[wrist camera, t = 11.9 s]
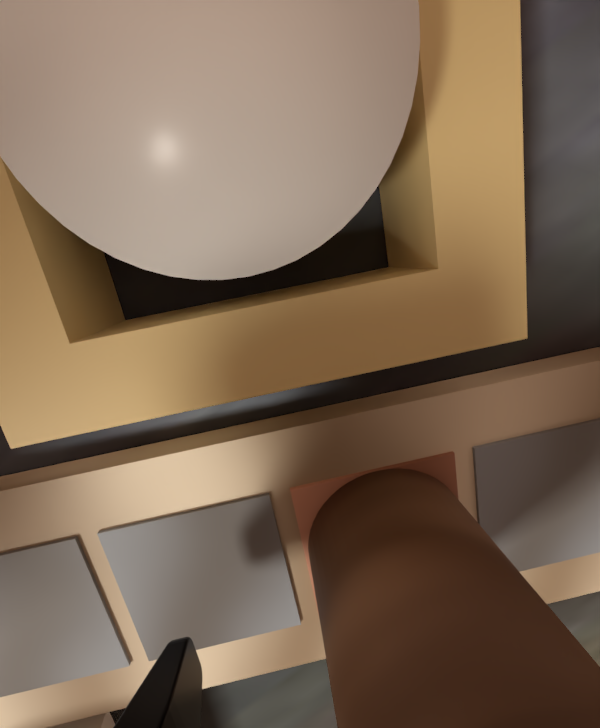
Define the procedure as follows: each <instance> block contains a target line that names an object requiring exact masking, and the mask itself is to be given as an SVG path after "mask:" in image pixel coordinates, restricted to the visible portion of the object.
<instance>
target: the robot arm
mask: <svg viewBox="0 0 600 728" xmlns="http://www.w3.org/2000/svg"><path fill="white" fill-rule="evenodd" d="M201 701H202V667H201V663H200V660H199V658H198V655H197V652H196V649H195V646H194V644H193V641H192V639H191V638H190V637H183V638H179V639H175V640H172V641H170V642H169V643H168V644H167V645H166V647H165V648H164V650H163V651H162V653H161V654H160V656H159V658H158V659H157V661H156V662H155V664H154V665H153V667H152V668H151V670H150V671H149V673H148V675H147V676H146V678H145V679H144V681H143V682H142V684H141V685H140V687H139V688H138V690H137V692H136V693H135V695H134V696H133V698H132V699H131V701H130V702H129V704H128V705H127V707H126V709H125V710H124V712H123V713H122V715H121V716H120V718H119V719H118V721H117V723H116V724H115V726H114V727H113V728H200V724H201Z"/></svg>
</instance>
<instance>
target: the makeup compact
mask: <svg viewBox="0 0 600 728" xmlns="http://www.w3.org/2000/svg"><path fill="white" fill-rule="evenodd" d="M399 468H401V469H411V470H415V471H420V472H423V473H425V474H428V475H430V476H432V477H434V478H436V479H438V480H439V481H440V482H442V483H443V484H444V485H446V486H447V487H448V488H449V490H450V491H451V492H452V493H453V494H454V495H455V496H456V497H457V499H458V500H459V501H460V502H461V503H462V505H463V506H464V507H465V508H466V509H467V510H468V512H469V513H470V514H471V515H472V516H473V518H474V519H475V520H476V521H477V522H478V524H479V525H480V526H481V527H482V528H483V529H484V531H485V532H486V533H487V534H488V535H489V537H490V538H491V539H492V540H493V541H494V542H495V544H496V545H497V546H498V547H499V548H500V550H501V551H502V552H503V553H504V554H505V555H506V557H507V558H508V559H509V560H510V561H511V563H512V564H513V565H514V566H515V567H516V569H517V570H518V571H519V572H520V573H521V574H522V576H523V577H524V578H525V579H526V580H527V582H528V583H529V584H530V585H531V586H532V587H533V589H534V590H535V591H536V592H537V593H538V595H539V596H540V597H541V598H542V599H543V600H544V602H545V603H546V604H549V603H553V602H557V601H561V600H565V599H569V598H573V597H577V596H581V595H585V594H589V593H593V592H598V591H600V347H596V348H591V349H587V350H582V351H578V352H573V353H568V354H564V355H559V356H555V357H550V358H545V359H541V360H536V361H531V362H527V363H522V364H518V365H513V366H508V367H504V368H499V369H494V370H490V371H485V372H481V373H476V374H471V375H467V376H462V377H458V378H453V379H448V380H444V381H439V382H434V383H430V384H425V385H421V386H416V387H411V388H407V389H402V390H398V391H393V392H388V393H384V394H379V395H374V396H370V397H365V398H361V399H356V400H351V401H347V402H342V403H338V404H333V405H328V406H324V407H319V408H314V409H310V410H305V411H301V412H296V413H291V414H287V415H282V416H277V417H273V418H268V419H264V420H259V421H254V422H250V423H245V424H241V425H236V426H231V427H227V428H222V429H217V430H213V431H208V432H204V433H199V434H194V435H190V436H185V437H181V438H176V439H171V440H167V441H162V442H157V443H153V444H148V445H144V446H139V447H134V448H130V449H125V450H121V451H116V452H111V453H107V454H102V455H97V456H93V457H88V458H84V459H79V460H74V461H70V462H65V463H60V464H56V465H51V466H47V467H42V468H37V469H33V470H28V471H24V472H19V473H14V474H10V475H5V476H0V728H47V727H51V726H55V725H59V724H63V723H67V722H71V721H75V720H79V719H83V718H87V717H91V716H95V715H99V714H103V713H107V712H111V711H115V710H120V709H124V708H126V707H127V705H128V704H129V702H130V701H131V699H132V698H133V696H134V695H135V693H136V692H137V690H138V688H139V687H140V685H141V684H142V682H143V681H144V679H145V678H146V676H147V675H148V673H149V671H150V670H151V668H152V667H153V665H154V664H155V662H156V661H157V659H158V658H159V656H160V654H161V653H162V651H163V650H164V648H165V647H166V645H167V644H168V643H169V642H170V641H172V640H175V639H179V638H183V637H190V638H191V639H192V641H193V644H194V646H195V649H196V652H197V655H198V658H199V660H200V663H201V667H202V689H205V688H209V687H213V686H217V685H221V684H225V683H229V682H233V681H237V680H241V679H245V678H249V677H253V676H257V675H261V674H265V673H269V672H273V671H278V670H282V669H286V668H290V667H294V666H298V665H302V664H306V663H310V662H314V661H318V660H322V659H326V655H325V649H324V643H323V637H322V631H321V625H320V619H319V613H318V607H317V601H316V595H315V589H314V583H313V577H312V571H311V565H310V559H309V552H308V540H309V534H310V530H311V527H312V524H313V521H314V519H315V517H316V515H317V513H318V512H319V510H320V509H321V507H322V506H323V504H324V503H325V502H326V501H327V500H328V499H329V497H330V496H331V495H332V494H334V493H335V492H336V491H337V490H338V489H339V488H341V487H342V486H344V485H345V484H347V483H348V482H350V481H352V480H354V479H355V478H357V477H360V476H362V475H365V474H367V473H371V472H374V471H378V470H384V469H399Z"/></svg>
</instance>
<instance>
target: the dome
mask: <svg viewBox="0 0 600 728" xmlns="http://www.w3.org/2000/svg"><path fill="white" fill-rule="evenodd" d="M419 50H420V20H419V2H418V0H0V157H1V158H2V160H3V161H4V162H5V164H6V165H7V166H8V168H9V169H10V171H11V172H12V173H13V175H14V176H15V177H16V179H17V180H18V181H19V182H20V183H21V184H22V186H23V187H24V188H25V189H26V190H27V191H28V192H29V193H30V194H31V195H32V197H33V198H34V199H35V200H36V201H37V202H38V203H39V204H40V205H41V206H42V207H43V208H44V209H45V210H46V211H48V212H49V213H50V214H51V215H52V216H53V217H54V218H55V219H57V220H58V221H59V222H60V223H61V224H62V225H63V226H65V227H66V228H67V229H69V230H70V231H72V232H73V233H75V234H76V235H77V236H79V237H80V238H82V239H83V240H84V241H86V242H87V243H89V244H90V245H92V246H94V247H96V248H98V249H100V250H101V251H103V252H105V253H107V254H109V255H110V256H112V257H114V258H116V259H119V260H121V261H124V262H126V263H129V264H131V265H134V266H136V267H138V268H141V269H144V270H148V271H151V272H155V273H159V274H163V275H167V276H171V277H179V278H186V279H193V280H227V279H234V278H242V277H249V276H253V275H257V274H260V273H264V272H268V271H271V270H274V269H277V268H279V267H282V266H284V265H286V264H289V263H291V262H293V261H296V260H298V259H300V258H301V257H303V256H305V255H306V254H308V253H310V252H311V251H313V250H315V249H317V248H318V247H320V246H321V245H322V244H324V243H325V242H326V241H328V240H329V239H330V238H331V237H333V236H334V235H335V234H336V233H338V232H339V231H340V230H341V229H342V228H343V227H344V226H345V225H346V224H347V223H348V222H349V221H350V220H351V219H352V218H353V217H354V216H355V215H356V214H357V213H358V212H359V211H360V210H361V208H362V207H363V206H364V204H365V203H366V202H367V200H368V199H369V198H370V196H371V195H372V194H373V192H374V191H375V190H376V188H377V187H378V185H379V183H380V182H381V180H382V178H383V176H384V175H385V173H386V171H387V169H388V168H389V166H390V164H391V162H392V160H393V158H394V155H395V153H396V151H397V148H398V146H399V144H400V141H401V139H402V137H403V134H404V130H405V127H406V124H407V121H408V117H409V114H410V111H411V107H412V102H413V97H414V92H415V86H416V81H417V76H418V63H419Z"/></svg>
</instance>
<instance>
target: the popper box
mask: <svg viewBox="0 0 600 728" xmlns="http://www.w3.org/2000/svg"><path fill="white" fill-rule="evenodd" d="M418 2H419V20H420V50H419V63H418V76H417V81H416V86H415V92H414V97H413V102H412V107H411V111H410V114H409V117H408V121H407V124H406V127H405V130H404V134H403V137H402V139H401V141H400V144H399V146H398V148H397V151H396V153H395V155H394V158H393V160H392V162H391V164H390V166H389V168H388V169H387V171H386V173H385V175H384V176H383V178H382V180H381V182H380V183H379V191H380V199H381V207H382V216H383V224H384V232H385V241H386V249H387V257H388V265H389V267H387V268H382V269H377V270H372V271H367V272H362V273H357V274H352V275H347V276H343V277H338V278H333V279H328V280H323V281H318V282H313V283H308V284H303V285H298V286H293V287H288V288H283V289H278V290H273V291H268V292H263V293H258V294H253V295H248V296H243V297H238V298H233V299H228V300H223V301H218V302H213V303H208V304H204V305H199V306H194V307H189V308H184V309H179V310H174V311H169V312H164V313H159V314H154V315H149V316H144V317H139V318H134V319H129V320H125V317H124V314H123V311H122V308H121V305H120V302H119V299H118V295H117V292H116V289H115V286H114V283H113V280H112V277H111V274H110V271H109V267H108V264H107V261H106V258H105V255H104V252H103V251H101V250H100V249H98V248H96V247H94V246H92V245H90V244H89V243H87V242H86V241H84V240H83V239H82V238H80V237H79V236H77V235H76V234H75V233H73V232H72V231H70V230H69V229H67V228H66V227H65V226H63V225H62V224H61V223H60V222H59V221H58V220H57V219H55V218H54V217H53V216H52V215H51V214H50V213H49V212H48V211H46V210H45V209H44V208H43V207H42V206H41V205H40V204H39V203H38V202H37V201H36V200H35V199H34V198H33V197H32V195H31V194H30V193H29V192H28V191H27V190H26V189H25V188H24V187H23V186H22V184H21V183H20V182H19V181H18V180H17V179H16V177H15V176H14V175H13V173H12V172H11V171H10V169H9V168H8V166H7V165H6V164H5V162H4V161H3V160H2V158H1V157H0V426H1V428H2V430H3V432H4V435H5V437H6V439H7V441H8V444H9V446H10V448H11V449H13V448H18V447H22V446H27V445H32V444H36V443H41V442H46V441H50V440H55V439H60V438H64V437H69V436H74V435H79V434H83V433H88V432H93V431H97V430H102V429H107V428H111V427H116V426H121V425H125V424H130V423H135V422H139V421H144V420H149V419H153V418H158V417H163V416H167V415H172V414H177V413H181V412H186V411H191V410H196V409H200V408H205V407H210V406H214V405H219V404H224V403H228V402H233V401H238V400H242V399H247V398H252V397H256V396H261V395H266V394H270V393H275V392H280V391H284V390H289V389H294V388H299V387H303V386H308V385H313V384H317V383H322V382H327V381H331V380H336V379H341V378H345V377H350V376H355V375H359V374H364V373H369V372H373V371H378V370H383V369H387V368H392V367H397V366H401V365H406V364H411V363H416V362H420V361H425V360H430V359H434V358H439V357H444V356H448V355H453V354H458V353H462V352H467V351H472V350H476V349H481V348H486V347H490V346H495V345H500V344H504V343H509V342H514V341H518V340H523V339H528V337H527V292H526V246H525V201H524V155H523V110H522V64H521V18H520V0H418Z"/></svg>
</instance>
